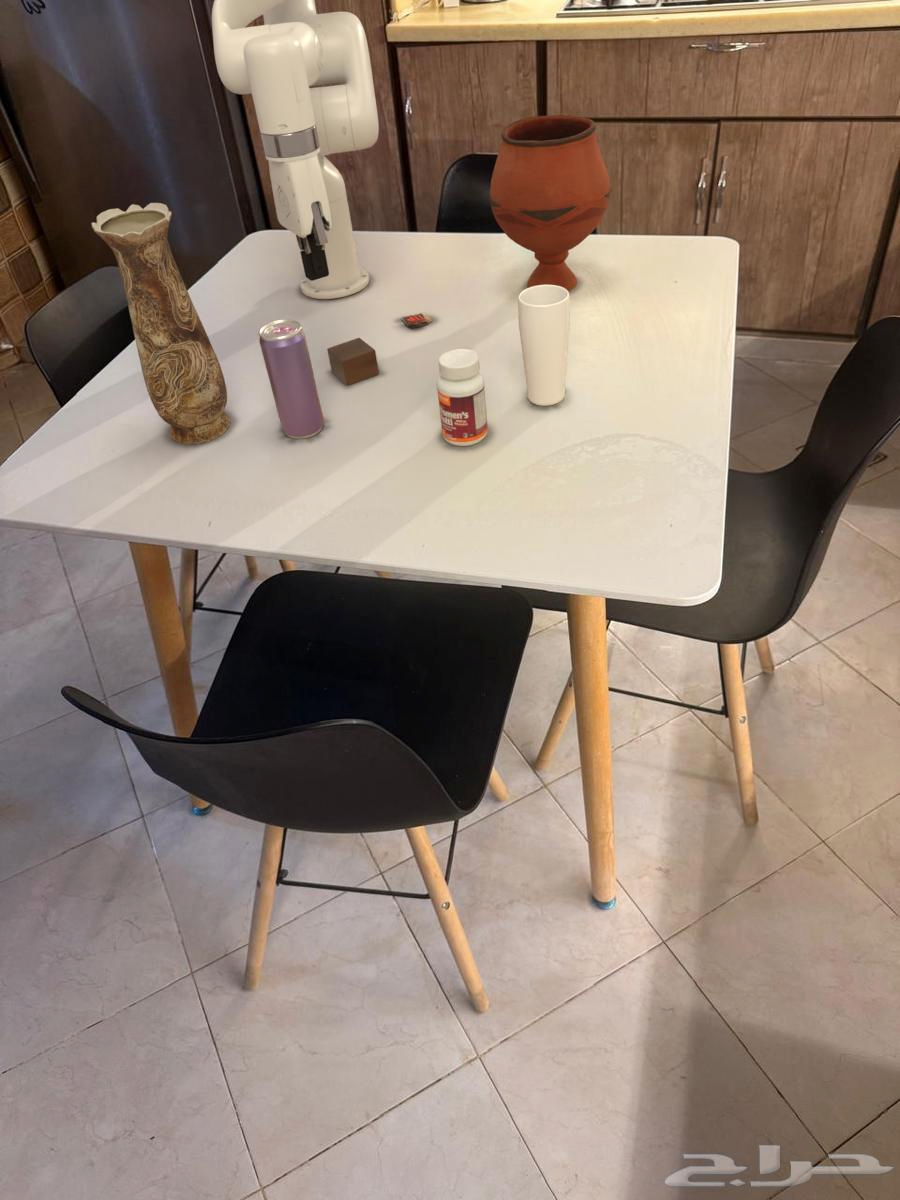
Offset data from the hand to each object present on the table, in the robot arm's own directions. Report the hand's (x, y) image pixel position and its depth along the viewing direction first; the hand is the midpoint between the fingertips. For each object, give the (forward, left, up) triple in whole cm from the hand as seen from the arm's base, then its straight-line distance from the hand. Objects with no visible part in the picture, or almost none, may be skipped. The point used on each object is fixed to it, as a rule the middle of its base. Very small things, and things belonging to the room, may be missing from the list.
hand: (317, 276), depth 130 cm
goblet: (+2, +41, -13) cm, 43 cm away
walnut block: (+8, 0, -13) cm, 15 cm away
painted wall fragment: (-1, +16, -13) cm, 21 cm away
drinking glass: (+33, +18, -13) cm, 40 cm away
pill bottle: (+34, +4, -13) cm, 36 cm away
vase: (+8, -25, -13) cm, 29 cm away
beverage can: (+18, -13, -13) cm, 25 cm away
